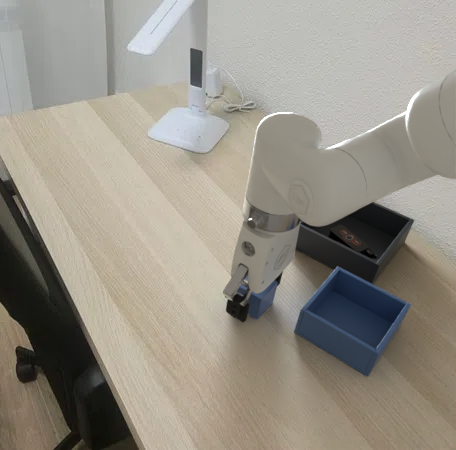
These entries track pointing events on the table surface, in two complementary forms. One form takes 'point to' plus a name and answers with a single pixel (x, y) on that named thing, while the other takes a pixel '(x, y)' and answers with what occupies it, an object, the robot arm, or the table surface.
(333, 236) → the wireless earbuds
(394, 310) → the blue bin
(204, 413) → the table surface
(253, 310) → the blue block
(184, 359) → the table surface
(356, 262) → the charcoal bin
